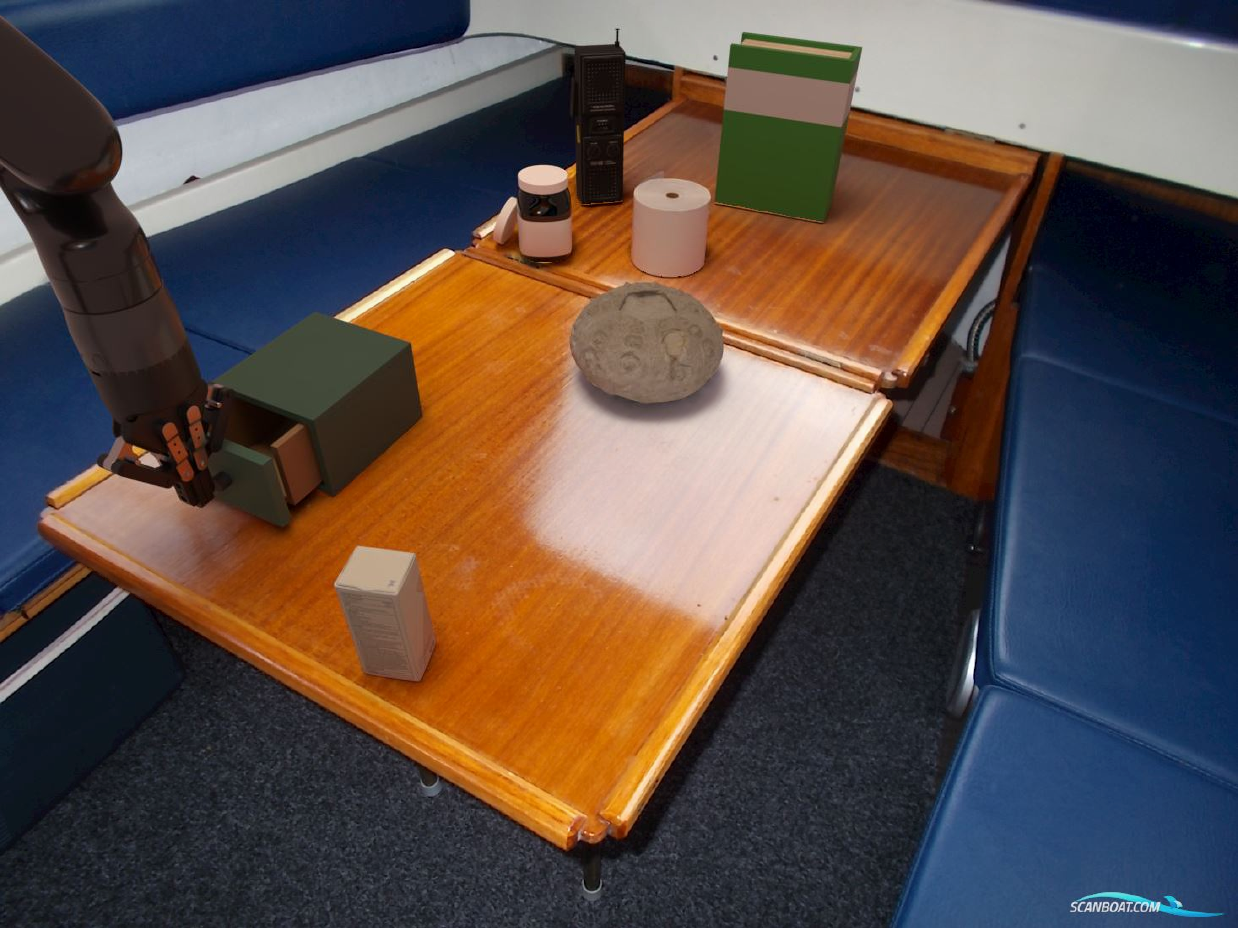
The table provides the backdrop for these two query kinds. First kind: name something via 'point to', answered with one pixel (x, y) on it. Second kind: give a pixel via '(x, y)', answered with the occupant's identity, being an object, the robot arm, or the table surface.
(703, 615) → the table surface
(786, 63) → the hardback book
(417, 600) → the box
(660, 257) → the toilet tissue
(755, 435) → the table surface
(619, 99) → the portable radio
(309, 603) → the table surface
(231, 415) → the drawer
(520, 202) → the spread jar
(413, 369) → the cabinet
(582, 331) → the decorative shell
